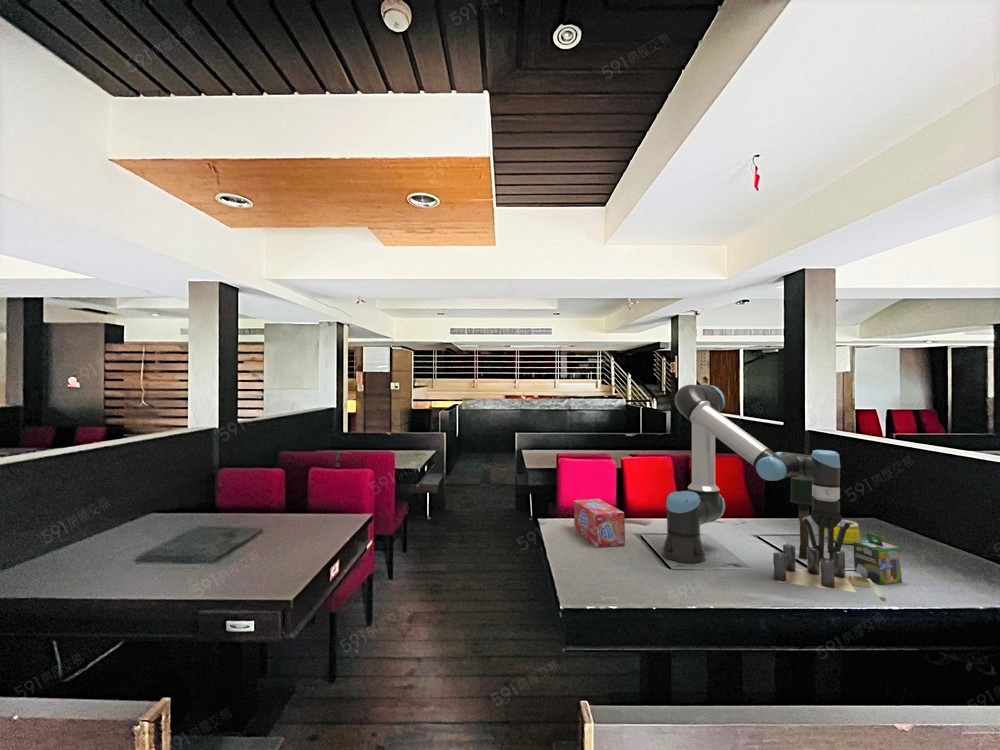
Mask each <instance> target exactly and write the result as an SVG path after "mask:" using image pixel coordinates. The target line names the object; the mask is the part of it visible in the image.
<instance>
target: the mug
mask: <svg viewBox="0 0 1000 750" xmlns="http://www.w3.org/2000/svg"><path fill="white" fill-rule="evenodd" d="M843 520H844V521H846V522H848V523H849V524H850V527H849V528H848V529H847V530H846V533H845V537H844V540H843V543H842V544H845V545H853V542H856V541H862V540H861V539H862V537H861V531H860V527H859V526H860V525H859V524H858V523H857V522H855V521H852V520H847V519H843ZM840 527H841V526H840V522H839V524H838V525H837V526H836V527H835V528H834V542H836V539H837V536H838V533H839V529H840ZM826 530H827V529H826V528H824V537H828V533H827V532H826Z"/></svg>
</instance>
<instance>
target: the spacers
mask: <svg viewBox="0 0 1000 750" xmlns="http://www.w3.org/2000/svg"><path fill="white" fill-rule="evenodd" d="M772 558H773V564H772V565H774V570H773V580H775V581H782V582H785V581H787V576H786V571H790V572H795V571H796V568H797V567H796V563H797V561H796V546H795V545H792V544H783V545H782V552H773V555H772ZM806 568H807V569H806V570H807V572H808V573H810V574H814V575H819V574H820V571H821V585H822V586H824V587H827V588H835V577H838V578H845V576H846V553H845V551H843V550H842V549H841V550H840V552H834V554H833V560H832V559H829V558H820V560H819V558H818V550H816V549H814V548H813V547H812V546H809V547H807V559H806ZM782 582H781V583H782ZM827 588H826V589H827Z"/></svg>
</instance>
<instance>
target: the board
mask: <svg viewBox="0 0 1000 750" xmlns="http://www.w3.org/2000/svg"><path fill="white" fill-rule="evenodd" d="M771 566H772V569H773V571H774V565H773V564H772V565H771ZM786 576H787V581H785V582H782V581H777V580H776V581H777V583H784V584H789V585H798V586H806V587H814V588H821V589H826V590H827V589H828V590H836V591H843V592H851V593H855V594H856V593H858V592H857V591H856V589H855V586H853V585H852V584H851V583H850V581H849V578H848V577H847V576H846V575H845V578H838V577H835V588H827V587H824V586H822V585H821V570H820V574H819V575H814V574H810V573H808V572H807V569H806V568H798V567H796V571H795V572H790V571H786ZM867 579H868V581H869V582H870V589H871V590H872V591H873V592H874V593H875V594H876V596H877V597H878V599H880V601H884V602H886V601H887V600H886V596H885V595H884V593H882V591H881V590H880V589H879V588H878V587H877V586H876V583H874V582H872V581H871V580H870V579H869V578H867Z"/></svg>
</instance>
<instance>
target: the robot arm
mask: <svg viewBox="0 0 1000 750" xmlns="http://www.w3.org/2000/svg"><path fill="white" fill-rule="evenodd" d="M723 393H724V392H723V391H721V389H719V387H717V386H715V385H709V384H687V385H684V386H682V387H680V388H679V389H678V390H677V392H676V394H675V395H674V405H675V408H676V409H677V411H679V413H680V414H681V415H683V416H684V417H685V418H686V419H687V420H688V421H690V422H691V483H690V484H688V486H687V490H681V491H678V490H677V491H673V492H671V493H669V494H668V495H667V498H666V504H665V505H666V528H667V529H666V532H667V534H666V536H665V539H664V544H663V546H662V556H663V555H664V556H665V557H664V556H663V557H664V558H666V557H667V558H666V559H668V558H669V560H670V559H671V560H670V561H674V560H675V561H674V562H678V563H684V562H685V563H686V564H696V563H702V562H704V561H706V559H707V558H706V557H707V556H706V550H705V547H704V544H703V541H702V539H701V525H705V524H709V523H713V522H715V521H717V520H719V519H720V518H721V517H722V516H723V515H724V513H725V511H726V502H725V499H724V497H722V495H721V494H720V488H719V486H717V484H716V439H718V440H719V441H721V442H722V443H723V444H724V445H726V446H727V447H728V448H730V449H731V450H732V451H734V452H735V453H736V454H738V455H739V456H740V457H741V458H743V460H746V461H747V462H748V463H749V464H751V465H752V466H754V467H755V470H756V473H757V474H758V476H759V477H760V478H761V479H763V480H765V481H769V482H771V481H780V480H783V479H786V478H791V477H806V478H812V496H813V497H814V498H812V505H811V512H809V516H808V517H803V521H804V522H805V524H806V526H807V529H808V534H809V540H810V544H811V547H813V548H814V549H816V550H818V558H819V560H820V558H829V559H832V560H833V554H834V552H840V550H841V551H842V546H843V544H844V543H843V540H844V537H845V533H846V530H847V529H848V528H849V527H850V524H849V523H848V522H846V521H844V520H845V519H843V517H842V516H841V502H840V501H839V500H840V499H841V493H840V492H841V488H840V487H841V484H840V483H841V482H840V481H841V462H840V453H838V452H837V451H833V450H824V449H815V450H812V453H811V454H801V453H793V452H787V451H784V452H783V451H777V452H775V451H772V449H770V448H769V447H767V446H766V445H764V444H763V443H761V442H760V441H759V440H757V438H755V437H753V436H752V435H751V434H750V433H748V432H746V431H745V430H744V429H742V428H741V427H740V426H739V425H737V424H735V423H734V422H732V421H731V420H730V419H728V417H726V416H724V415H723V414H722V413H721V411H722V410H723V409H724V407H725V405H726V404H725V403H726V400H725V394H723ZM812 520H813V521H812ZM813 522H814V523H815V524H816V525H817V536H818V537H817V539H816V537H815V534H814V530H813V525H812V523H813ZM839 522H840V526H841V527H840V529H839V533H838V536H837V539H836V541H834V528H835V527H836V526H837V525H838V524H839ZM824 528H827V529H826V530H827V535H828V536H827V550H825V535H824ZM817 542H818V544H817ZM834 542H835V544H834Z"/></svg>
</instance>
